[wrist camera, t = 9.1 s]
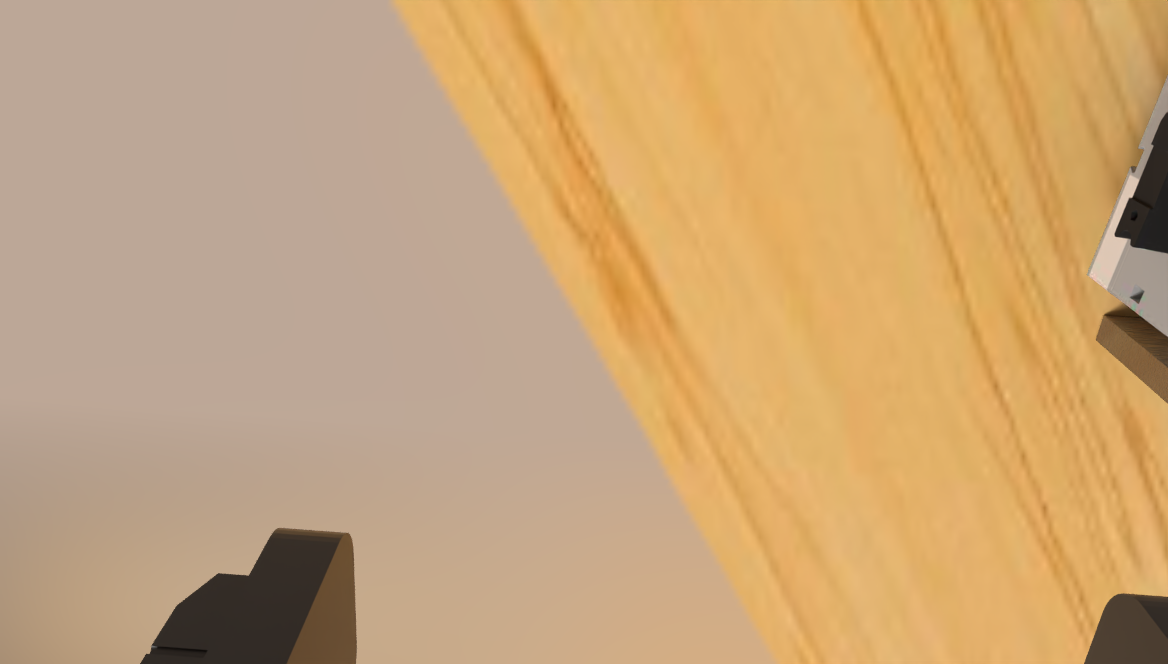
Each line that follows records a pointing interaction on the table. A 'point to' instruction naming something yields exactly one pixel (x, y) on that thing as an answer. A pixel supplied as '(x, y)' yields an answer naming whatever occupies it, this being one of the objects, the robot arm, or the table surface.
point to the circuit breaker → (1140, 229)
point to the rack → (1138, 349)
